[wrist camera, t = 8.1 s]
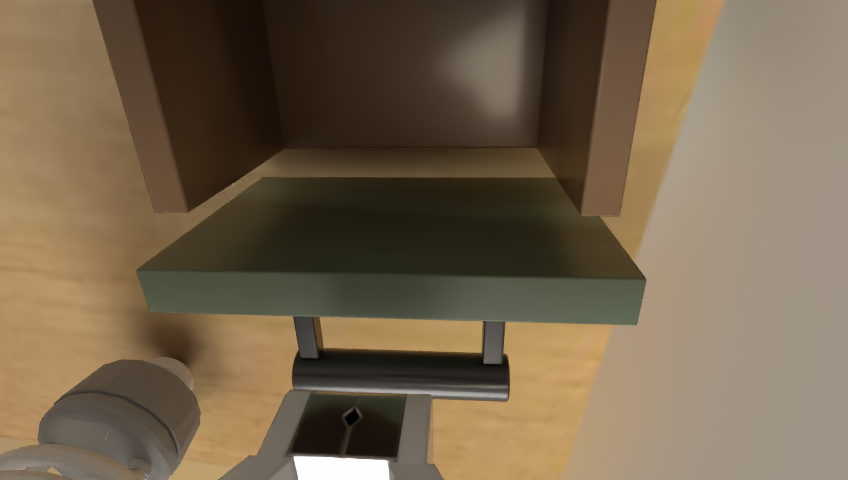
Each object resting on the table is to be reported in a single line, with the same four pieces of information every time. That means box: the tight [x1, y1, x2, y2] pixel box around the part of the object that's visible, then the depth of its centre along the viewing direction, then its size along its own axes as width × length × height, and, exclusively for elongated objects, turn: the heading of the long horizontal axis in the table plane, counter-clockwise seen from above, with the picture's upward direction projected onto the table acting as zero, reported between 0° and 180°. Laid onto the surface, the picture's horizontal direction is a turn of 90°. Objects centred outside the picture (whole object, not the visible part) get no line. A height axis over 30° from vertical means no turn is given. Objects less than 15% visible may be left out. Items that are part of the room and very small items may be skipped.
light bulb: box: [0, 357, 201, 480], centre depth 17 cm, size 6×6×12 cm
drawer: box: [92, 0, 657, 402], centre depth 12 cm, size 19×11×7 cm, turn 1°
